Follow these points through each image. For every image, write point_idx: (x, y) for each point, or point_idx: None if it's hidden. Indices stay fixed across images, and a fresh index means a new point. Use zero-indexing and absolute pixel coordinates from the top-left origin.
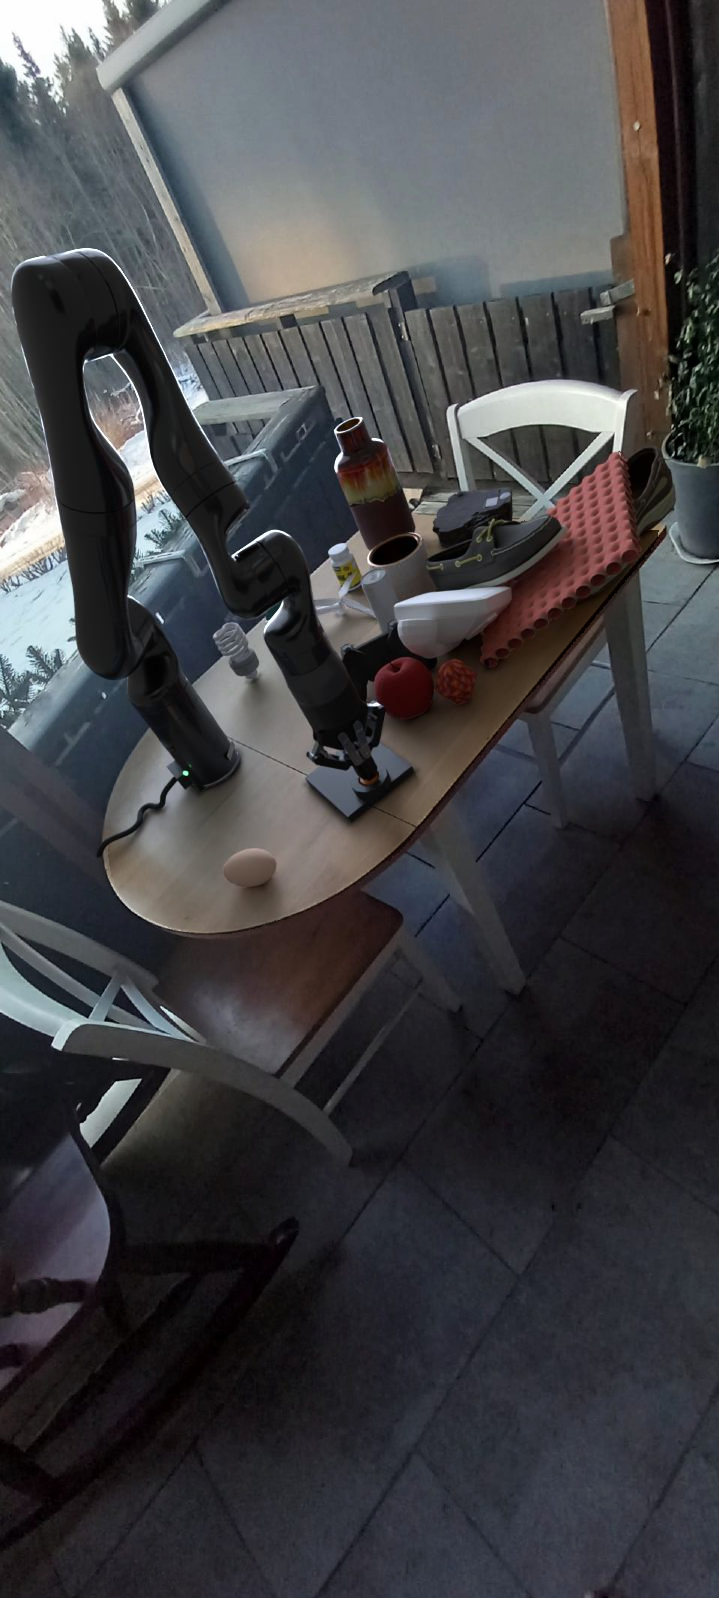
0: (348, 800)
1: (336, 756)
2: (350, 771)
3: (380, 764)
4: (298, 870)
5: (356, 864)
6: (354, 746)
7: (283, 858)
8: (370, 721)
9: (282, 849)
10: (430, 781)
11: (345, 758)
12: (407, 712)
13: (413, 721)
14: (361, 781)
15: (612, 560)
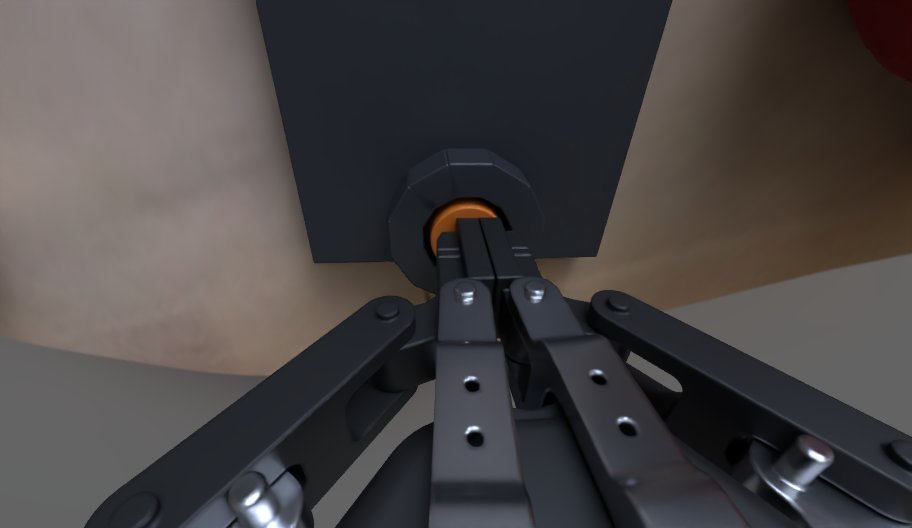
0: (353, 205)
1: (383, 361)
2: (451, 61)
3: (542, 220)
4: (81, 264)
5: (272, 356)
6: (519, 331)
7: (11, 177)
8: (720, 428)
9: (4, 131)
10: (574, 295)
11: (421, 369)
12: (883, 52)
13: (832, 4)
14: (434, 236)
15: None
